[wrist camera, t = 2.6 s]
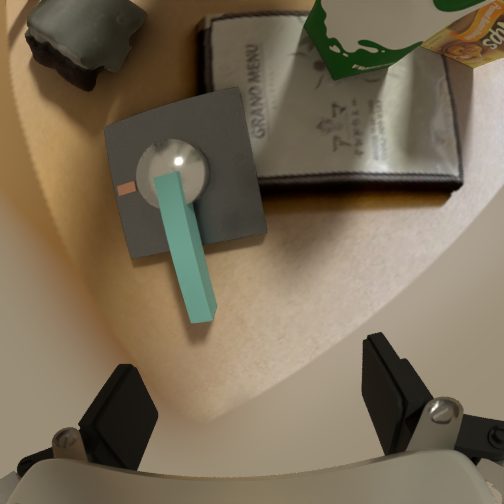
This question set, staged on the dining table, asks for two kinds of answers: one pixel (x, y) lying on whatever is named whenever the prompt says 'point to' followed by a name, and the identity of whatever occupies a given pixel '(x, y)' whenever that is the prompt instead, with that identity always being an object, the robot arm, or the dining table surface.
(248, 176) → the base
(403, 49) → the milk carton
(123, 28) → the rock
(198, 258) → the teal pivot lever
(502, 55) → the candy box
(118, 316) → the dining table surface
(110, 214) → the dining table surface
